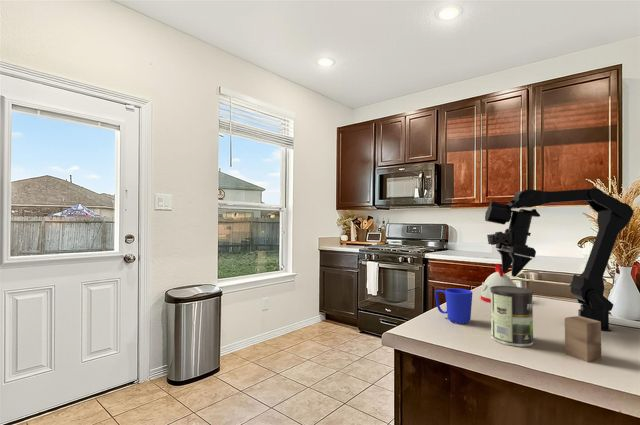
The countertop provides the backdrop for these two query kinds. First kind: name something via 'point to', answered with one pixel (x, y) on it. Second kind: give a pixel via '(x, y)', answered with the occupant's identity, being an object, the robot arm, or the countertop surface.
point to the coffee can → (512, 315)
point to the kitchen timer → (494, 283)
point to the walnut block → (583, 338)
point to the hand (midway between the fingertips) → (508, 274)
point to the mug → (457, 304)
